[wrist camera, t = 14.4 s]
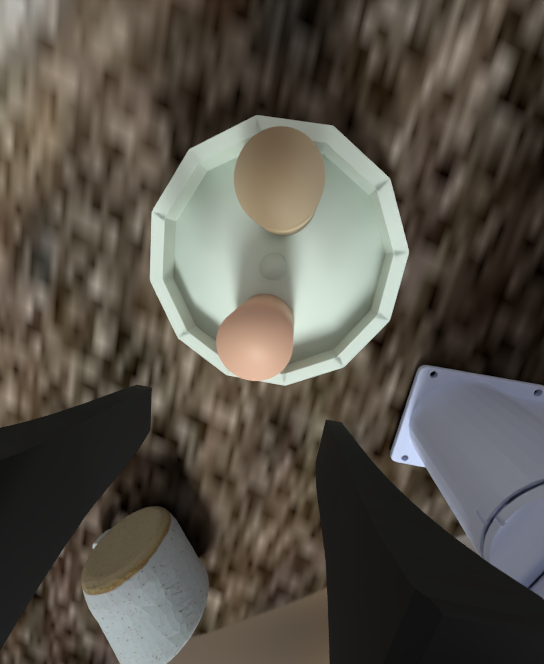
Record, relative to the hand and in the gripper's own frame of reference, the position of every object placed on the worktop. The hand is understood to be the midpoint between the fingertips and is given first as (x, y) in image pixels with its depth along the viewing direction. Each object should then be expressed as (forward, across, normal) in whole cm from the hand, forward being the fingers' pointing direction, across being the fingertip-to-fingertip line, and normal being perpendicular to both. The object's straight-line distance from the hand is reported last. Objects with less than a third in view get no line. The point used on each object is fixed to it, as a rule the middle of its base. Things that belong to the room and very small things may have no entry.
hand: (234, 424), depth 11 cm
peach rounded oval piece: (+9, 0, -2) cm, 9 cm away
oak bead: (+9, 0, -10) cm, 13 cm away
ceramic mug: (+10, +7, +21) cm, 24 cm away
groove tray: (+9, 0, -6) cm, 11 cm away
